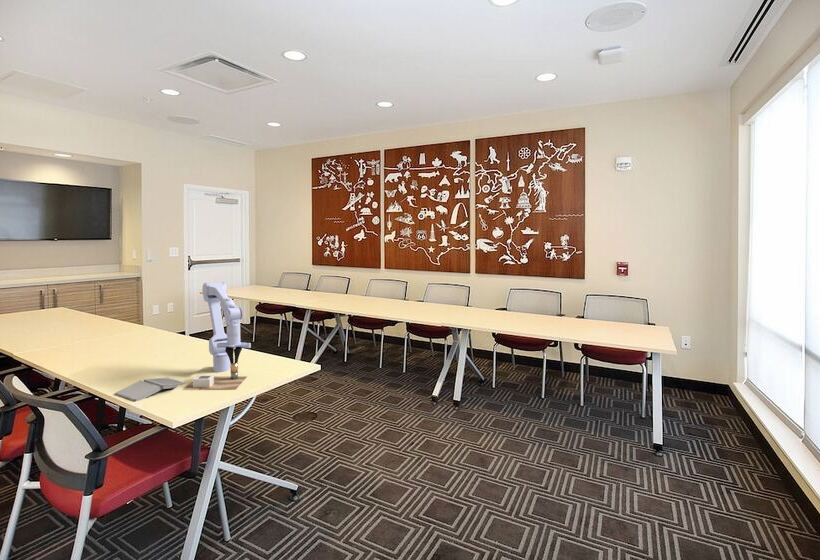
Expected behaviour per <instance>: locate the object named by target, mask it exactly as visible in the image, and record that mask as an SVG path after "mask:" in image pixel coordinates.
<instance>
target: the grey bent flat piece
mask: <svg viewBox="0 0 820 560" xmlns="http://www.w3.org/2000/svg"><path fill="white" fill-rule="evenodd" d="M185 384H186V383H185V382H183V381H181V380H177V379H174V378H171V377H158V378H147V379H145V378H144V379H143V380H139V381H137V382H135V383H132V384H130V385H128V386H126V387H124V388H122V389H120V390H117V391H115V392H114V394H115V395H116V396H118V397H122V398H125V399H127V400H130V401H133V402H139V401H142V400H144V399H146V398H148V397H151V396H152V395H154V394H156V393H158V392H160V391H162V390H166V389H167V390H168V389H176V388H177V387H179V386H182V385H185Z"/></svg>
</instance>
